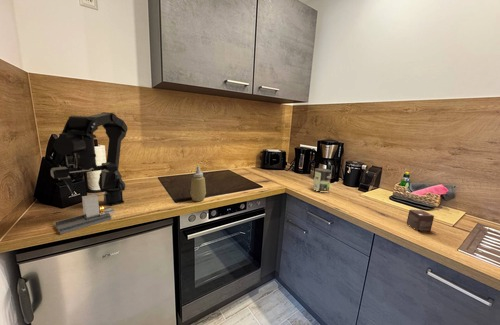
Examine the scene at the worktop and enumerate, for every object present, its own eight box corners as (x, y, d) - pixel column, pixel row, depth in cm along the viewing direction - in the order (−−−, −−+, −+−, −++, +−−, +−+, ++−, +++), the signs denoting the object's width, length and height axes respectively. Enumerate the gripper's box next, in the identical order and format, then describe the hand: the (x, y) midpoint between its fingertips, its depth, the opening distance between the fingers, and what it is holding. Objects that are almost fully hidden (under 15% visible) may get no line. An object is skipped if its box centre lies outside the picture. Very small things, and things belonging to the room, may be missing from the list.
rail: (103, 212, 84) (102, 202, 83) (111, 219, 79) (110, 208, 78) (54, 225, 72) (53, 213, 71) (60, 234, 67) (58, 222, 66)
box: (418, 224, 89) (422, 209, 88) (431, 232, 83) (435, 215, 82) (405, 224, 89) (408, 209, 87) (417, 231, 83) (421, 215, 82)
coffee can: (330, 190, 132) (333, 169, 130) (326, 194, 124) (329, 172, 122) (315, 186, 138) (318, 167, 136) (310, 190, 130) (312, 169, 128)
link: (110, 209, 84) (108, 190, 83) (114, 213, 81) (113, 193, 80) (83, 216, 77) (81, 196, 76) (87, 220, 74) (85, 199, 73)
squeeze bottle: (199, 195, 109) (200, 164, 106) (209, 199, 104) (209, 166, 101) (187, 199, 103) (186, 166, 100) (196, 204, 98) (196, 168, 95)
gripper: (106, 147, 84) (109, 182, 87) (44, 150, 70) (50, 192, 73) (117, 150, 78) (119, 188, 81) (51, 154, 63) (57, 200, 66)
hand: (89, 191), depth 75 cm, fingers open, 9 cm apart
